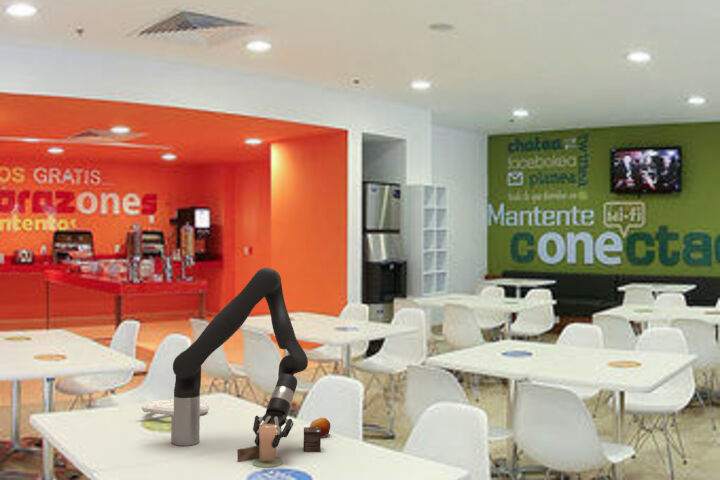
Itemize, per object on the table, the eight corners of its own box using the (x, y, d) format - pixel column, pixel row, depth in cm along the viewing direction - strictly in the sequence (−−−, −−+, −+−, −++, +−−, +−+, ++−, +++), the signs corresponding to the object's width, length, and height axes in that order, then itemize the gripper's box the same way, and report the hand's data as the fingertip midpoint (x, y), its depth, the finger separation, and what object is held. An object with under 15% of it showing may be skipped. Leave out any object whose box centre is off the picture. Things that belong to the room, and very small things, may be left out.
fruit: (332, 435, 289) (321, 416, 290) (314, 445, 291) (304, 426, 292) (337, 430, 297) (327, 412, 298) (320, 439, 299) (310, 421, 299)
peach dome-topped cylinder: (256, 460, 258) (256, 427, 258) (263, 455, 263) (263, 423, 263) (271, 461, 256) (271, 428, 256) (278, 457, 262) (278, 424, 261)
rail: (239, 461, 261) (239, 450, 261) (237, 461, 262) (237, 449, 262) (274, 454, 269) (275, 443, 269) (273, 454, 270) (273, 442, 270)
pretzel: (163, 410, 340) (164, 395, 340) (214, 415, 335) (215, 400, 336) (132, 416, 312) (134, 400, 313) (187, 422, 308) (189, 405, 308)
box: (303, 447, 279) (303, 427, 279) (320, 447, 280) (320, 426, 279) (303, 452, 273) (303, 431, 273) (320, 452, 273) (320, 431, 273)
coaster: (247, 465, 257) (247, 464, 257) (260, 457, 266) (260, 456, 266) (274, 469, 253) (274, 467, 253) (287, 460, 263) (287, 459, 263)
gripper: (258, 394, 269) (242, 438, 258) (296, 398, 264) (282, 442, 253) (264, 406, 274) (249, 449, 263) (302, 410, 269) (288, 453, 258)
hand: (265, 445), depth 258 cm, fingers closed on peach dome-topped cylinder, 5 cm apart
